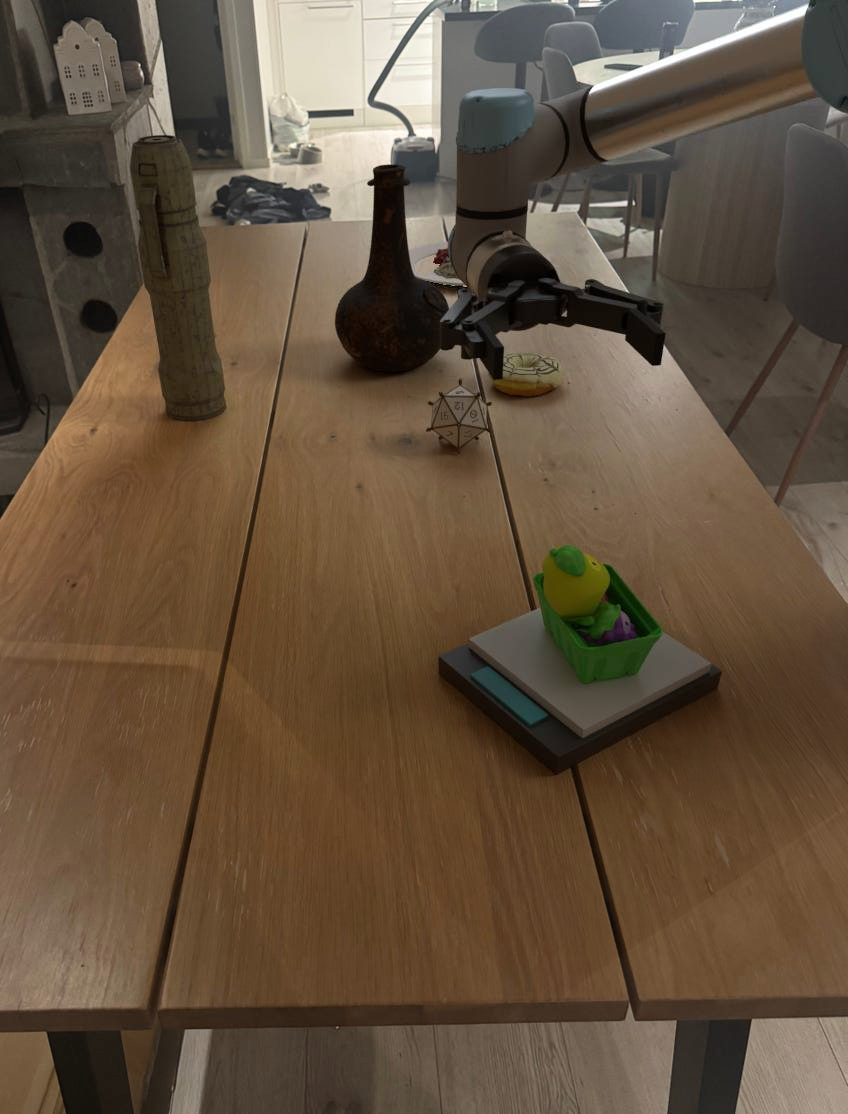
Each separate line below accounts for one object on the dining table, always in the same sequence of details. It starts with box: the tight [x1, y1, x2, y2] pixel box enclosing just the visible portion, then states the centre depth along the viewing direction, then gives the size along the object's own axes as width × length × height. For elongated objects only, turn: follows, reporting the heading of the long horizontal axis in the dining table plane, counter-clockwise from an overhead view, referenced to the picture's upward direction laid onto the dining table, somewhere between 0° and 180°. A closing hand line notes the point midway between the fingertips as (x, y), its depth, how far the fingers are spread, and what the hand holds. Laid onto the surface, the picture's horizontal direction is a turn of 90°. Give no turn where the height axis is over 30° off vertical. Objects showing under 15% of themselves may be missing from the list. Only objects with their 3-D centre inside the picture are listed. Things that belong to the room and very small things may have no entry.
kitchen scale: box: [437, 606, 723, 776], centre depth 85 cm, size 16×19×3 cm
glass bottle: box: [334, 163, 450, 373], centre depth 142 cm, size 18×18×28 cm
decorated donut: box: [488, 352, 565, 397], centre depth 140 cm, size 10×11×4 cm
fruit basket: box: [532, 544, 664, 684], centre depth 82 cm, size 11×9×11 cm
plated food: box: [409, 241, 552, 286], centre depth 187 cm, size 30×30×3 cm
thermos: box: [129, 134, 227, 421], centre depth 128 cm, size 9×12×35 cm
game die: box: [425, 377, 493, 456], centre depth 124 cm, size 9×8×10 cm
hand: (579, 356), depth 79 cm, fingers open, 13 cm apart
